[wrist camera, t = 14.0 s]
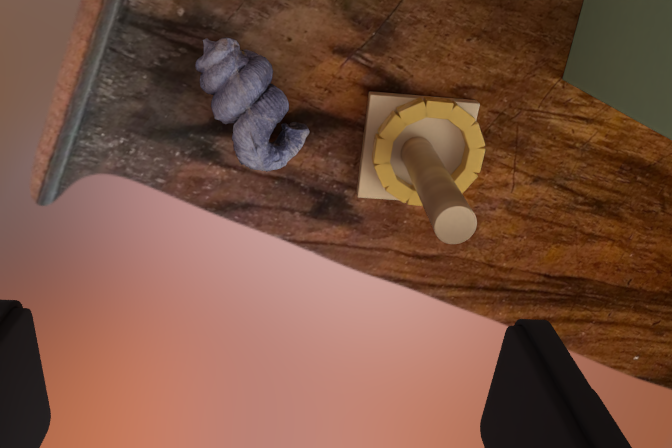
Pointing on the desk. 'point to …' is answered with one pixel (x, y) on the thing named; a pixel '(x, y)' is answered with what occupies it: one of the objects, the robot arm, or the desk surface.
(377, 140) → the ring
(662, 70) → the stand
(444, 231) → the post
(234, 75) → the seashell
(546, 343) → the robot arm
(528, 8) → the desk surface
